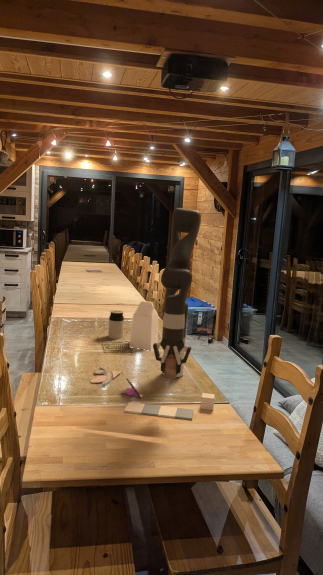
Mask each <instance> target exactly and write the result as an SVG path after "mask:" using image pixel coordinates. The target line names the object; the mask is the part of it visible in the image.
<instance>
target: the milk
mask: <svg viewBox="0 0 323 575" xmlns="http://www.w3.org/2000/svg"><path fill="white" fill-rule="evenodd" d="M131 321H132V324H131V332H130V339H129V342H130V343H129V347H130V346H131V347H133V348H139V349H145V350H149V351H148V352H152V351H151V350H153V344H154V343H159V314H158V312H157V310H156V309H155V305H154V302H153V301H148V300H147V301H146V300H141V301H140V302H139V304H138V306H137V308H136V310H135V311H134V313H133V315H132V320H131ZM145 350H144V351H145Z"/></svg>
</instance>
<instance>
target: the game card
mask: <svg viewBox="0 0 323 575" xmlns="http://www.w3.org/2000/svg"><path fill="white" fill-rule="evenodd" d="M125 379H126V381H127V382H128V384H129V385H130V387H127V388H126V389H125V390H122V392H123V393H125V394H126V395H127V396H130V397H133V396H136V395H137V396H138V397H139V398H140V399H142V398H143V395H142V394H141V393H140V392H139V391H138V390H137V389H136V387H135V386H134V385H133V383H132V382H131V381H130V380H129V379H128V378H125Z"/></svg>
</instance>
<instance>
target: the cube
mask: <svg viewBox="0 0 323 575" xmlns="http://www.w3.org/2000/svg"><path fill="white" fill-rule="evenodd" d="M201 394H202V395H201V401H200V403H201V404H200V409H201V410H209V411H214V406H215V394H214V393H206V392H202V393H201Z"/></svg>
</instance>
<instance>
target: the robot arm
mask: <svg viewBox="0 0 323 575" xmlns="http://www.w3.org/2000/svg"><path fill="white" fill-rule="evenodd" d="M171 216H172V217H171V230H170V231H171V233H170V234H171V235H170V249H169V257H168V264H167V265H166V266H165V267H164V269H163V271H162V274H161V276H160V277H161V278H160V283H161V284H162V286H163V287H164V288H165V293H164V294H165V295H164V300H163V305H162V306H163V307H162V318H163V320H162V331H161V334H162V335H161V341H160V342H158V343H154V344H153V349H154V351H153V352H154V357H155V361H159V362H160V372H161V373H162V376H164V370H165V358H166V356H167V355H168V354H173V355H175V356H176V359H177V370H176V374H177V376H176V378H181V377H182V376H183V375H184V366H185V364H186V363H187V361H188V358H189V355H190V354H191V351H192V346H191V345H186V337H187V334H186V333H187V324H188V323H187V322H188V316H189V303H188V302H187V296H188V292H189V290H190V287H191V285H192V282H193V274H192V272H191V268H192V267H191V266H192V261H191V258H192V253H193V249H194V246H195V243H196V241H197V238H198V234H199V231H200V227H201V223H202V222H201V221H202V216H201V212H200V211H199V210H198V209H190V208H183V207H176V208H175V209H174V210H173V212H172V215H171ZM180 233H185V234H186V235H185V236H184V237H182V238H181V235H180ZM179 290H180V292H179V293H177V292H178V291H179ZM160 347H161V349H162V350H163V354H162V356H161V354H160Z"/></svg>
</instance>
